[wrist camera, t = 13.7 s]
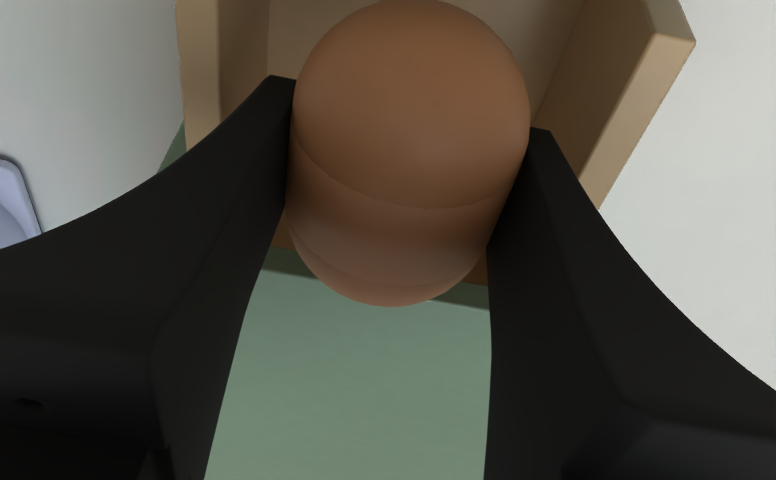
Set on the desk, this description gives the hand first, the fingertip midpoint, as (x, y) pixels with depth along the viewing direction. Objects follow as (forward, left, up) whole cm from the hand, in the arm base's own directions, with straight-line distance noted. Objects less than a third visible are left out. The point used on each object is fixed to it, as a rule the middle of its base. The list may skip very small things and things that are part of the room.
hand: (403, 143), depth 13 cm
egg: (0, 0, +1) cm, 1 cm away
